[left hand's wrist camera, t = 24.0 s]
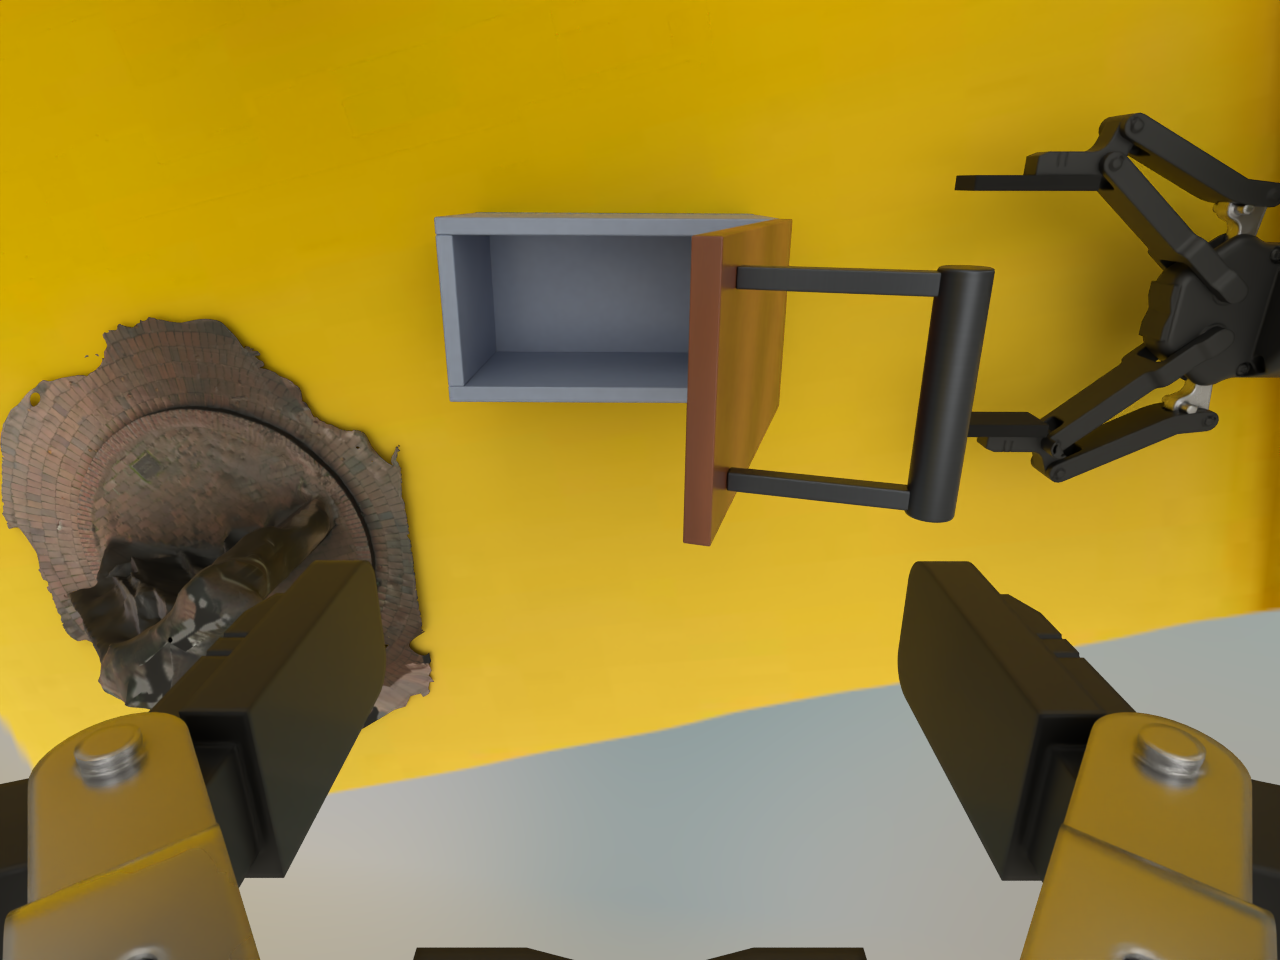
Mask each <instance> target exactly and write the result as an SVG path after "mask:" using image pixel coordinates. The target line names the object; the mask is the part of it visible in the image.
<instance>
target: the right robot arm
mask: <svg viewBox="0 0 1280 960" xmlns="http://www.w3.org/2000/svg"><path fill="white" fill-rule="evenodd" d="M1127 155H1128V156H1130V157H1132V158H1133V159H1135V160H1136V161H1138V162H1140V163H1141V164H1143V165H1145V166H1146V167H1148V168H1150V169H1151V170H1153V171H1154V172H1156V173H1158V174H1159V175H1161V176H1163V177H1164V178H1166V179H1167V180H1169V181H1171V182H1172V183H1174V184H1176V185H1177V186H1179V187H1181V188H1182V189H1184V190H1185V191H1187V192H1189V193H1190V194H1192V195H1194V196H1195V197H1197V198H1199V199H1201V200H1204V201H1207V202H1212V203H1216V204H1215V205H1214V206H1213V212H1215V213H1216V214H1217V216H1218V217H1219V218H1220V219H1222V220H1224V221H1225V222H1226V223H1227V225H1228V229H1227V233H1225V234H1222V235H1220V236H1218V237H1216V238H1214V239H1213V240H1211V241H1210V242H1207V241H1206V240H1204V239H1203V238H1201V237H1199V236H1197V235H1196V234H1194V233H1193V231H1192V230H1191V229H1190V228H1189V227H1188V226H1187V225H1186V223H1185V222H1184V221H1183V220H1182V219H1181V218H1180V216H1179V215H1178V214H1177V213H1176V212H1175V211H1174V210H1173V208H1172V207H1171V206H1170V205H1169V204H1168V203H1167V202H1166V200H1165V199H1164V198H1163V197H1162V196H1161V195H1160V194H1159V192H1158V191H1157V190H1156V189H1155V188H1154V187H1153V186H1152V184H1151V183H1150V182H1149V181H1148V180H1147V179H1146V177H1145V176H1144V175H1143V174H1142V173H1141V172H1140V171H1139V169H1138V168H1137V167H1136V166H1135V165H1134V164H1133V163H1132V161H1131V160H1130V159H1129V158H1128V157H1127ZM955 190H968V191H1097V192H1098V193H1099V194H1100V195H1101V196H1102V197H1103V198H1104V199H1105V201H1106V202H1107V203H1108V204H1109V205H1110V206H1111V207H1112V208H1113V209H1114V211H1115V212H1116V213H1117V214H1118V215H1119V216H1120V217H1121V218H1122V219H1123V221H1124V222H1125V223H1126V224H1127V225H1128V226H1129V227H1130V228H1131V229H1132V231H1133V232H1134V233H1135V234H1136V235H1137V236H1138V237H1139V238H1140V239H1141V241H1142V242H1143V243H1144V244H1145V245H1146V246H1147V247H1148V249H1149V250H1148V253H1149V255H1150V256H1151V257H1152V258H1153V259H1154V260H1155V261H1156V263H1157V264H1158V265H1159V266H1160V267H1161V268H1162V269H1163V270H1164V271H1163V272H1162V274H1161V275H1160V276H1159V277H1158V279H1157V281H1152V282H1151V286H1150V290H1149V294H1148V296H1149V308H1148V311H1147V313H1146V315H1145V317H1144V318H1143V320H1142V323H1141V327H1140V331H1139V335H1141V336H1143V341H1144V343H1143V344H1141V345H1140V346H1138V347H1137V348H1135V349H1134V350H1132V351H1131V352H1130V353H1128V354H1127V355H1125V356H1124V357H1123V358H1122V362H1121V364H1120V365H1118V366H1117V367H1115V368H1114V369H1112V370H1111V371H1110V372H1108V373H1107V374H1105V375H1104V376H1102V377H1101V378H1099V379H1098V380H1097V381H1095V382H1094V383H1092V384H1091V385H1089V386H1088V387H1086V388H1085V389H1084V390H1082V391H1081V392H1079V393H1078V394H1076V395H1075V396H1073V397H1072V398H1071V399H1069V400H1068V401H1066V402H1065V403H1063V404H1062V405H1060V406H1059V407H1057V408H1056V409H1055V410H1053V411H1052V412H1050V413H1049V414H1047V415H1046V416H1044V417H1043V418H1042V419H1038V418H1037V417H1035V416H1033V415H1032V414H1030V413H1028V412H971V418H970V424H969V430H968V436H967V437H977V442H978V443H980V444H981V445H982V446H983V447H985V448H986V449H988V450H991V451H993V452H1032V454H1033V456H1032V458H1031V464H1032V466H1033V467H1034V468H1036V469H1037V470H1038V471H1040V472H1041V473H1042V474H1044V475H1045V476H1046V477H1048V478H1049V479H1051V480H1052V481H1054V482H1058V483H1059V482H1063V481H1065V480H1067V479H1070V478H1072V477H1075V476H1077V475H1080V474H1082V473H1084V472H1087V471H1089V470H1092V469H1094V468H1096V467H1099V466H1101V465H1104V464H1106V463H1108V462H1111V461H1113V460H1116V459H1118V458H1121V457H1123V456H1125V455H1128V454H1130V453H1133V452H1135V451H1137V450H1140V449H1142V448H1145V447H1147V446H1150V445H1152V444H1154V443H1157V442H1159V441H1162V440H1164V439H1166V438H1169V437H1171V436H1174V435H1176V434H1182V433H1192V432H1202V431H1208V430H1211V429H1213V428H1214V427H1215V426H1216V425H1217V423H1218V420H1219V419H1218V415H1217V414H1216V413H1215V412H1213V411H1210V410H1208V409H1209V403H1210V397H1211V391H1212V385H1213V384H1216V383H1218V382H1220V381H1222V380H1225V379H1228V378H1232V377H1280V242H1264V241H1262V240H1260V239H1259V238H1258V237H1256V234H1257V231H1258V229H1259V226H1260V224H1261V221H1262V219H1263V216H1264V214H1265V211H1266V209H1267V207H1275V206H1277V205H1279V204H1280V183H1275V182H1267V181H1260V180H1252V179H1247V178H1246V177H1244V176H1243V175H1241V174H1239V173H1238V172H1236V171H1235V170H1233V169H1231V168H1230V167H1228V166H1227V165H1225V164H1223V163H1222V162H1220V161H1219V160H1217V159H1215V158H1214V157H1212V156H1211V155H1209V154H1207V153H1206V152H1204V151H1203V150H1201V149H1200V148H1198V147H1196V146H1195V145H1193V144H1192V143H1190V142H1188V141H1187V140H1185V139H1184V138H1182V137H1180V136H1179V135H1177V134H1176V133H1174V132H1172V131H1171V130H1169V129H1168V128H1166V127H1164V126H1163V125H1161V124H1160V123H1158V122H1156V121H1155V120H1153V119H1152V118H1150V117H1148V116H1147V115H1145V114H1143V113H1135V114H1127V115H1120V116H1114V117H1108V118H1107V119H1105V120H1104V121H1103V122H1102V123H1101V125H1100V127H1099V137H1098V139H1097V141H1096V143H1095V144H1094V146H1093V147H1092V148H1090V149H1089V150H1087V151H1085V152H1037V153H1034V154H1032V155H1029V156H1027V158H1026V163H1025V169H1024V175H966V176H957V177H956V184H955ZM1158 359H1159V360H1161V362H1156V361H1157V360H1158ZM1179 378H1181V379H1183V380H1185V385H1184V386H1183V388H1182V389H1181V390H1180V391H1178V392H1176V393H1173V394H1171V395H1165V396H1164V397H1163V398H1162V403H1157V404H1152V405H1149V406H1145V407H1143V408H1140V409H1138V410H1135V411H1133V412H1131V413H1128V414H1126V415H1123V416H1121V417H1119V418H1116V419H1114V420H1112V421H1109V422H1107V423H1105V422H1106V421H1108V420H1109V419H1111V418H1112V417H1114V416H1115V415H1117V414H1118V413H1120V412H1121V411H1122V410H1124V409H1125V408H1127V407H1128V406H1130V405H1131V404H1133V403H1134V402H1136V401H1137V400H1139V399H1140V398H1142V397H1143V396H1145V395H1146V394H1148V393H1149V392H1151V391H1152V390H1154V389H1156V388H1161V387H1165V386H1168V385H1170V384H1171V383H1173V382H1174V381H1176V380H1177V379H1179ZM1103 423H1105V424H1103Z"/></svg>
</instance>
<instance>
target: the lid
mask: <svg viewBox="0 0 1280 960" xmlns="http://www.w3.org/2000/svg"><path fill="white" fill-rule="evenodd" d="M791 231H792V219H773V220H768V221H763V222H758V223H753V224H748V225H743V226H738V227H733V228H728V229H723V230H718V231H713V232H708V233H703V234H698V235H693V236H692V241H691V277H690V313H689V349H688V385H687V420H686V456H685V492H684V528H683V542H684V543H688V544H696V545H703V546H710V545H711V543H712V541H713V539H714V537H715V535H716V533H717V531H718V529H719V527H720V525H721V523H722V521H723V519H724V517H725V515H726V513H727V510H728V508H729V506H730V504H731V502H732V500H733V498H734V496H735V494H736V492H745V493H754V494H763V495H772V496H781V497H790V498H799V499H808V500H817V501H826V502H835V503H844V504H853V505H862V506H871V507H880V508H889V509H898V510H905V513H906V514H907V515H908V516H910V517H912V518H914V519H917V520H921V521H925V522H933V523H941V522H947V521H950V520H952V519H953V517H954V514H955V508H956V502H957V496H958V490H959V484H960V478H961V472H962V466H963V460H964V454H965V448H966V442H967V436H968V430H969V424H970V418H971V412H972V406H973V400H974V394H975V388H976V382H977V376H978V369H979V363H980V357H981V351H982V345H983V339H984V333H985V327H986V321H987V315H988V309H989V303H990V297H991V291H992V285H993V279H994V273H995V271H994V269H993V268H991V267H984V266H970V265H945V266H940V267H939V268H938V270H937V271H929V270H895V269H862V268H828V267H794V266H789V258H790V245H791ZM787 291H797V292H823V293H849V294H875V295H901V296H927V297H934V299H933V306H932V313H931V320H930V328H929V335H928V342H927V349H926V356H925V363H924V371H923V378H922V385H921V392H920V399H919V406H918V413H917V421H916V428H915V435H914V442H913V449H912V456H911V463H910V471H909V478H908V485H902V484H892V483H883V482H873V481H863V480H853V479H844V478H834V477H824V476H814V475H804V474H795V473H785V472H775V471H765V470H756V469H748V468H749V466H750V464H751V462H752V460H753V457H754V455H755V453H756V451H757V449H758V447H759V445H760V443H761V441H762V439H763V437H764V435H765V433H766V431H767V429H768V427H769V425H770V423H771V421H772V419H773V417H774V415H775V413H776V411H777V409H778V407H779V397H780V383H781V369H782V355H783V341H784V328H785V314H786V300H787Z"/></svg>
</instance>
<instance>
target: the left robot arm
mask: <svg viewBox="0 0 1280 960" xmlns="http://www.w3.org/2000/svg"><path fill="white" fill-rule="evenodd" d="M385 671H386V649H385V642H384V634H383V627H382V620H381V613H380V606H379V599H378V591H377V584H376V577H375V573H374V569H373V567H372V565H371V563H370V562H369V561H367V560H316V561H314V562H312V563H311V564H310V565H309V566H308V568H307V569H306V570H305V571H304V572H303V573H302V574H301V575H300V576H299V578H298V579H297V580H296V581H295V582H294V583H293V584H292V585H291V586H290V588H289V589H288V590H287V591H286V592H285V593H275V594H274V595H272V596H270V597H269V598H267V599H265V600H263V601H262V602H260V603H258V604H256V605H255V606H253V607H251V608H250V609H248V610H246V611H244V612H243V613H242V614H241V616H240V617H239V618H238V619H237V620H236V621H235V622H234V623H233V624H232V625H231V626H230V627H229V628H228V629H227V630H226V631H225V632H224V637H223V638H219V639H218V640H217V641H216V642H215V643H214V644H213V645H212V646H211V647H210V648H209V649H208V650H207V651H206V656H201V657H200V658H199V660H198V661H197V662H196V663H195V664H194V665H193V666H192V667H191V668H190V669H189V670H188V671H187V672H186V673H185V674H184V675H183V676H182V677H181V678H180V679H179V681H178V682H177V683H176V684H175V685H174V686H173V687H172V688H171V689H170V690H169V691H168V692H167V693H166V694H165V695H164V696H163V697H162V698H161V699H160V700H159V701H158V703H157V704H156V705H155V706H154V707H153V708H152V709H151V710H150V711H149V712H144V713H136V714H130V715H125V716H120V717H117V718H113V719H110V720H106V721H104V722H101V723H98V724H96V725H93V726H91V727H89V728H86V729H84V730H82V731H80V732H78V733H76V734H74V735H73V736H71V737H69V738H67V739H66V740H64V741H63V742H61V743H60V744H58V745H57V746H56V747H54V748H53V749H52V750H51V751H49V752H48V753H47V754H46V755H45V756H44V757H43V758H42V759H41V760H40V761H39V762H38V763H37V765H36V766H35V767H34V769H33V770H32V773H31V775H30V777H29V778H28V779H23V780H19V781H14V782H9V783H4V784H0V960H260V958H259V954H258V951H257V948H256V944H255V941H254V938H253V934H252V931H251V928H250V924H249V921H248V918H247V915H246V911H245V908H244V905H243V901H242V898H241V895H240V891H239V887H240V885H241V883H242V882H243V880H244V878H284V877H285V875H286V873H287V871H288V869H289V867H290V865H291V863H292V861H293V859H294V857H295V856H296V854H297V852H298V850H299V848H300V846H301V844H302V842H303V840H304V838H305V836H306V834H307V833H308V831H309V829H310V827H311V825H312V823H313V821H314V819H315V817H316V815H317V813H318V812H319V810H320V808H321V806H322V804H323V802H324V800H325V798H326V796H327V794H328V792H329V791H330V789H331V787H332V785H333V783H334V781H335V779H336V777H337V775H338V773H339V771H340V769H341V768H342V766H343V764H344V762H345V760H346V758H347V756H348V754H349V752H350V750H351V748H352V747H353V745H354V743H355V741H356V739H357V737H358V735H359V733H360V731H361V729H362V727H363V725H364V724H365V722H366V720H367V718H368V716H369V714H370V712H371V710H372V708H373V706H374V704H375V703H376V701H377V699H378V697H379V695H380V692H381V690H382V687H383V683H384V678H385ZM898 674H899V680H900V685H901V688H902V691H903V694H904V696H905V698H906V700H907V702H908V704H909V706H910V708H911V710H912V711H913V713H914V715H915V717H916V719H917V721H918V723H919V725H920V727H921V728H922V730H923V732H924V734H925V736H926V738H927V740H928V742H929V744H930V746H931V747H932V749H933V751H934V753H935V755H936V757H937V759H938V761H939V763H940V764H941V766H942V768H943V770H944V772H945V774H946V776H947V778H948V780H949V781H950V783H951V785H952V787H953V789H954V791H955V793H956V795H957V797H958V798H959V800H960V802H961V804H962V806H963V808H964V810H965V812H966V813H967V815H968V817H969V819H970V821H971V823H972V825H973V827H974V829H975V830H976V832H977V834H978V836H979V838H980V840H981V842H982V844H983V846H984V847H985V849H986V851H987V853H988V855H989V857H990V859H991V861H992V863H993V865H994V866H995V868H996V870H997V872H998V874H999V876H1000V878H1001V880H1003V881H1042V882H1043V885H1042V888H1041V892H1040V895H1039V898H1038V901H1037V905H1036V908H1035V911H1034V915H1033V918H1032V921H1031V924H1030V928H1029V931H1028V934H1027V938H1026V941H1025V944H1024V948H1023V951H1022V954H1021V958H1020V960H1280V785H1275V784H1271V783H1265V782H1261V781H1256V780H1252V779H1251V777H1250V775H1249V773H1248V771H1247V769H1246V767H1245V766H1244V765H1243V763H1242V762H1241V761H1240V760H1239V759H1238V758H1237V757H1236V756H1235V755H1234V754H1233V753H1232V752H1231V751H1229V750H1228V749H1227V748H1226V747H1224V746H1223V745H1222V744H1220V743H1219V742H1217V741H1216V740H1214V739H1213V738H1211V737H1209V736H1207V735H1205V734H1204V733H1202V732H1200V731H1198V730H1196V729H1194V728H1191V727H1189V726H1187V725H1184V724H1182V723H1179V722H1176V721H1174V720H1170V719H1167V718H1163V717H1159V716H1155V715H1150V714H1144V713H1136V711H1135V710H1134V709H1133V708H1132V707H1131V706H1130V705H1129V704H1128V703H1127V702H1126V701H1125V700H1124V699H1123V698H1122V697H1121V696H1120V695H1119V694H1118V693H1117V692H1116V691H1115V690H1114V689H1113V688H1112V687H1111V686H1110V684H1109V683H1108V682H1107V681H1106V680H1105V679H1104V678H1103V677H1102V676H1101V675H1100V674H1099V673H1098V672H1097V671H1096V670H1095V669H1094V668H1093V667H1092V666H1091V665H1090V664H1089V663H1088V662H1087V661H1086V660H1085V659H1084V658H1080V657H1079V652H1078V651H1077V650H1076V649H1075V648H1074V647H1073V646H1072V645H1071V644H1070V643H1069V642H1068V641H1067V640H1066V639H1062V635H1061V634H1060V633H1059V631H1058V630H1057V629H1056V628H1055V627H1054V626H1053V625H1052V624H1051V623H1050V622H1049V621H1048V620H1047V619H1046V618H1045V617H1044V616H1043V615H1042V614H1041V613H1040V612H1038V611H1036V610H1035V609H1033V608H1031V607H1029V606H1028V605H1026V604H1024V603H1023V602H1021V601H1019V600H1017V599H1016V598H1014V597H1012V596H1010V595H1009V594H1000V593H999V592H998V591H997V590H996V589H995V588H994V587H993V586H992V585H991V584H990V582H989V581H988V580H987V579H986V578H985V577H984V576H983V575H982V574H981V573H980V571H979V570H978V569H977V568H976V567H975V566H974V565H973V564H972V563H970V562H967V561H918V562H916V563H915V564H914V565H913V566H912V568H911V571H910V574H909V579H908V586H907V593H906V600H905V607H904V614H903V621H902V628H901V635H900V642H899V649H898ZM413 960H572V959H568V958H564V957H560V956H556V955H552V954H549V953H545V952H541V951H537V950H534V949H530V948H417V949H416V952H415V956H414V959H413ZM708 960H867V959H866V955H865V952H864V949H863V948H750V949H747V950H743V951H739V952H735V953H731V954H727V955H724V956H720V957H716V958H712V959H708Z"/></svg>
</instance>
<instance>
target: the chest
mask: <svg viewBox="0 0 1280 960" xmlns="http://www.w3.org/2000/svg"><path fill="white" fill-rule="evenodd" d="M773 219H777V218H771V217H765V216H759V215H753V214H661V213H471V214H461V215H451V216H441V217H435V218H434V222H435V233H436V234H437V235H436V246H437V257H438V269H439V280H440V292H441V303H442V315H443V326H444V338H445V350H446V361H447V373H448V384H449V397H450V401H451V402H635V403H687V385H688V349H689V313H690V277H691V241H692V236H693V235H698V234H703V233H708V232H713V231H718V230H723V229H728V228H733V227H738V226H743V225H748V224H753V223H758V222H763V221H768V220H773Z"/></svg>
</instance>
